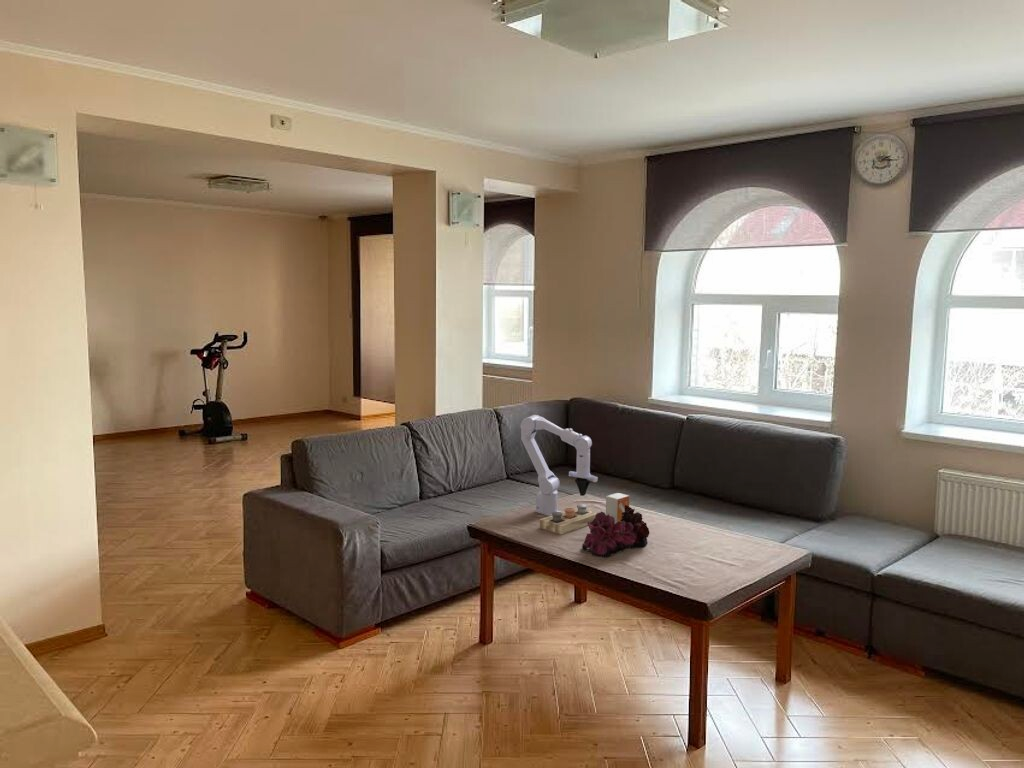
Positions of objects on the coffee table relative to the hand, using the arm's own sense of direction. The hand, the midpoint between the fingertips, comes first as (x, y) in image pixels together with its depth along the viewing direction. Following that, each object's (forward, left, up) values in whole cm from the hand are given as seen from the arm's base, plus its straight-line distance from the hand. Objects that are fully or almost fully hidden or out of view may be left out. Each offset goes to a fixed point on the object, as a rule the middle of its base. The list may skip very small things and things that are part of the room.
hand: (582, 495), depth 320 cm
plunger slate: (+2, -3, -7) cm, 8 cm away
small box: (+17, +2, -10) cm, 20 cm away
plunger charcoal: (+2, -19, -7) cm, 21 cm away
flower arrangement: (+33, -18, -10) cm, 39 cm away
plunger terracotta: (+2, -11, -7) cm, 14 cm away
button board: (+2, -11, -10) cm, 15 cm away
